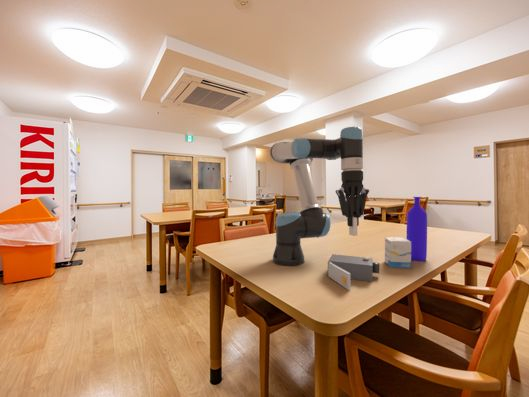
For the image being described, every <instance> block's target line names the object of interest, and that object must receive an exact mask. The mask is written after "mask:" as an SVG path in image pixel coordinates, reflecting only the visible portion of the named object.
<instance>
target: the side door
mask: <svg viewBox="0 0 529 397" xmlns="http://www.w3.org/2000/svg"><path fill="white" fill-rule="evenodd" d="M327 277H328V278H330V279H332V280H333V281H335V282H336V283H338V284H339V285H340V286H341V287H343V288H345V289H346V290H348V291H349V290H350V291H351V288H352V287H351V286H352V284H351V283H352V281H351V280H352V279H351V274H350V273H349V272H347V271H345V270H343V269H342V268H340V267H338V266H336V265H334V264H333V263H331V262H328V261H327Z"/></svg>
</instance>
